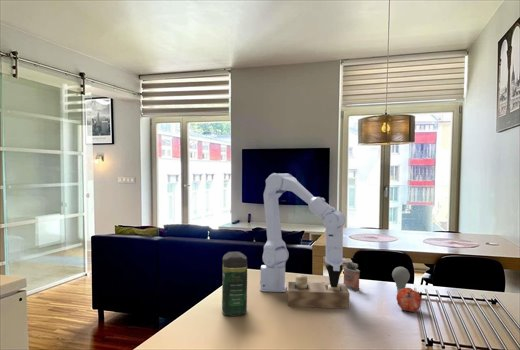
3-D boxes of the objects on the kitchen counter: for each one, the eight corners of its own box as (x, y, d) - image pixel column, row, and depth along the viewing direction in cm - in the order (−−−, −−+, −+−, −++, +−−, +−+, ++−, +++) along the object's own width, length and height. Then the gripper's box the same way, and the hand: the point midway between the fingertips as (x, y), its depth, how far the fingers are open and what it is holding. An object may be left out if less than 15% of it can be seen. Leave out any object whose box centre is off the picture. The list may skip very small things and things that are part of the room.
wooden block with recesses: (288, 306, 117) (288, 291, 117) (288, 295, 127) (288, 281, 127) (349, 308, 116) (349, 293, 116) (344, 297, 126) (345, 283, 125)
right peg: (328, 302, 119) (328, 288, 119) (327, 298, 123) (327, 284, 123) (340, 302, 119) (340, 288, 119) (338, 298, 123) (338, 284, 123)
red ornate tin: (341, 285, 139) (341, 260, 139) (347, 284, 140) (348, 259, 140) (354, 291, 132) (354, 265, 132) (361, 290, 133) (362, 264, 133)
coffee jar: (248, 316, 109) (248, 256, 109) (222, 317, 108) (223, 257, 107) (245, 304, 118) (245, 249, 118) (221, 306, 117) (221, 250, 117)
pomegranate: (395, 311, 119) (391, 301, 112) (401, 291, 122) (397, 280, 115) (419, 319, 115) (416, 309, 108) (424, 298, 118) (422, 286, 111)
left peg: (295, 292, 120) (295, 278, 120) (295, 288, 124) (295, 274, 124) (307, 292, 120) (307, 278, 120) (307, 289, 124) (307, 275, 124)
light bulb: (410, 293, 130) (411, 266, 130) (407, 298, 125) (408, 270, 125) (393, 290, 134) (394, 264, 134) (390, 294, 129) (390, 267, 129)
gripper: (349, 251, 113) (349, 294, 113) (343, 242, 128) (342, 280, 128) (327, 251, 114) (326, 293, 114) (323, 242, 128) (323, 279, 128)
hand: (333, 286), depth 121 cm, fingers closed, pressing on right peg
